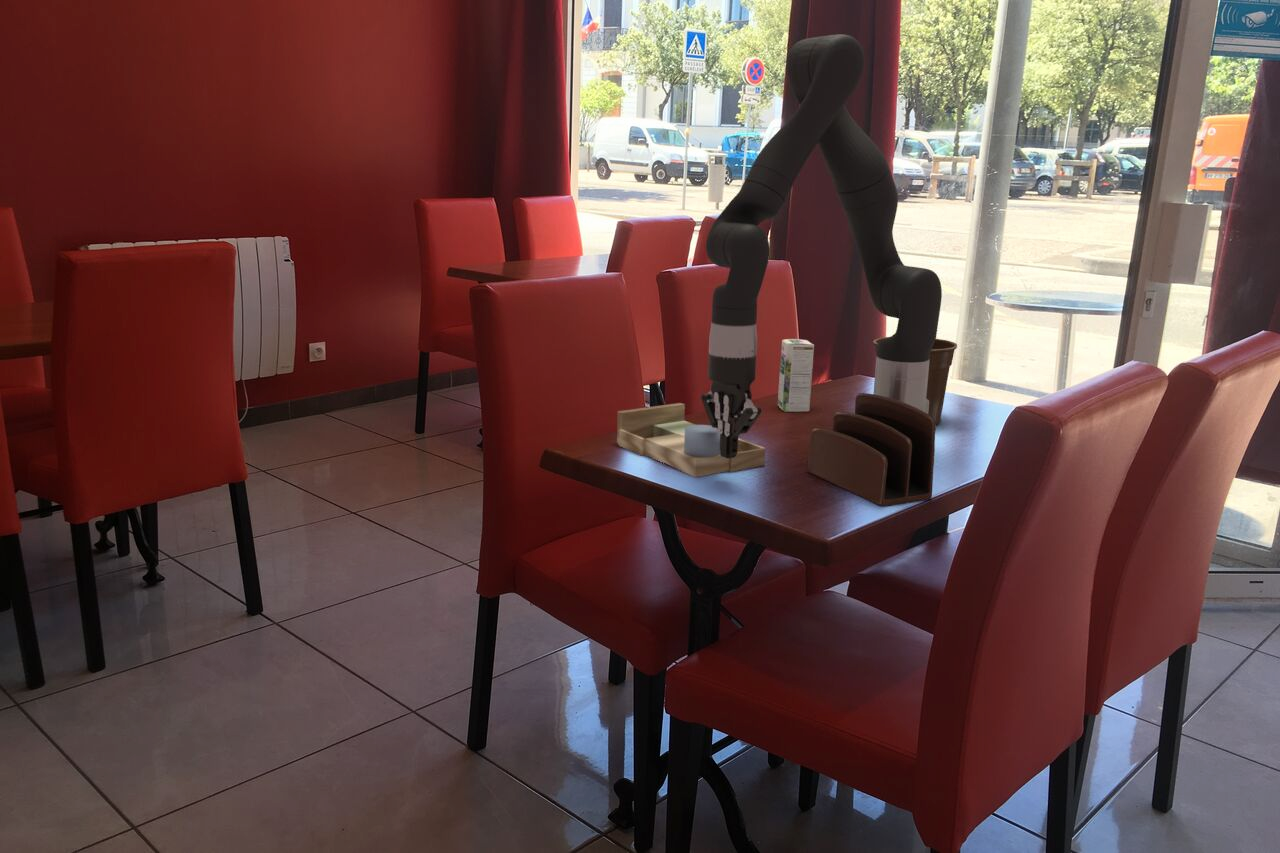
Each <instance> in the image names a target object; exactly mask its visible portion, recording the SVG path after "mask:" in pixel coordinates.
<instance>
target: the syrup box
mask: <svg viewBox="0 0 1280 853" xmlns="http://www.w3.org/2000/svg"><path fill="white" fill-rule="evenodd" d="M814 350H815V344H813V343H812V342H810V341H809V340H807V339H800V338H799V339H798V338H786V339H782V340H781V352H780V353H781V355H780V366H779V379H778V380H779V381H778V393H777V394H778V396H777V407H778V406H779V408H780V409H781V411H784V412H783V413H792V412H793V413H798V412H799V413H802V412H806V413H808V412H810V408H811V406H810V405H811V395H812V394H811V392H812V382H813V381H812V380H813V365H814V356H815V355H814V352H815V351H814Z"/></svg>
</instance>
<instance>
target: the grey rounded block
mask: <svg viewBox="0 0 1280 853" xmlns="http://www.w3.org/2000/svg"><path fill="white" fill-rule="evenodd" d="M684 453H685V454H687V455H690V456H694V457H714V456H717V455H719V454H720V434H719V432H718V429H717V428H713V427H712V425H711V424H710V425H708V424H695V425H691V426H687V427H686V428H685V438H684Z"/></svg>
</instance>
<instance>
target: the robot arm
mask: <svg viewBox="0 0 1280 853" xmlns="http://www.w3.org/2000/svg"><path fill="white" fill-rule="evenodd" d="M865 58H866V57H865V52H864V49H863V47H862V45H861V44H860V42H859V41H858V39H857V38H855V37H854V36H851V35H849V34H838V33H837V34H830V35H824V36H823V35H821V36H814V37H810V38H809V37H808V38H803V39H801V40H799V41H797V42H796V43H794V45H793V46H792V47H791V49H790V50H789V52H788V55H787V59H786V73H787V78H788V83H789V86H790V88H791V90H792V93H793V94H794V96H795V100H796V101H797V103H798V105H799V106H798V108H797V109H796V110H795V111H794V113H793V115H791V117H790V118H789V119H788V120H787V121H786V122H785V124H784V125H783V126H782V127H781V128H780V129H778V131H777V132H776V133H775V134H773V136H772V137H771V138H770V140H768V142H767V143H766V144H765V145H764V147H763V148H762V149H761V150H760V152H759V153H758V154H757V157H756V158H755V160H754V162H753V163H752V165H751V167H750V170H749V172H748V174H747V175H746V178H745V180H744V182H743V184H742V186H741V187H740V189H739V191H738V193H737V194H736V195H735V196H734V197H733V198H732V199H731V200H730V202H729V203H728V204H727V205H726V207H725V208H724V209H723V210H722V211H721V213H720V214H719V215H718V217H717V218H716V219H715V220H714V222H713V224H712V225H711V227H710V228H709V231H708V234H707V236H706V241H705V251H706V256H707V257H708V259H709V261H711V262H712V264H714V265H716V266H717V267H721V268H726V269H729V272H728V276H727V281H726V283H723V284H720V285H718V286H716V287H715V288H714V290H713V294H712V300H711V303H712V305H711V324H710V331H709V337H708V338H709V340H708V341H709V342H708V364H707V365H708V366H707V368H708V369H707V379H708V380H709V381H710V382H712V383H711V385H710V391H708V392H707V393H703V394H702V395H701V396H700V400H701V402H702V405H703V407H704V410H705V412H706V414H707V418H708V421H709V422H710V426H712V427H713V428H717V429H718V432H719V434H720V455H721V456H722V457H725V458H734V457H735V456H736V455H737V451H738V449H737V448H738V438H739V436H740V435H742V434H748V432H749V431H750V430H751V428H752V426H753V425H754V423H755V422H756V421H757V419H758V418H759V416H760V415H761V413H762V408H761V407H760V406H755V404H754V403H753V401H752V399H753V398H752V397H753V396H752V395H753V394H752V391H751V385H752V383H753V382H754V381H755V380H756V374H757V372H756V371H757V370H756V368H757V351H758V350H757V349H758V348H757V347H758V333H757V317H758V316H757V314H758V297H759V294H760V291H761V288H762V285H763V281H764V279H765V274H766V270H767V268H768V264H769V260H770V253H771V252H770V251H771V250H770V242H769V239H768V236H767V234H766V231H765V230H764V229H762V227H760V226H759V225H760V224H761V223H763V222H764V221H767V220H771V219H773V218H775V217H776V216H778V214H779V213H780V212H781V210H782V208H783V206H784V205H785V202H786V201H787V198H788V197H789V195H790V192H791V190H792V188H793V186H794V184H795V182H796V180H797V178H798V176H799V174H800V172H801V171H802V168H803V167H804V165H805V164H806V163H807V160H808V158H809V157H810V155H811V154H812V152H813V151H814V149H815V147H816V146H817V145H818V147H819V149H820V152H821V154H822V156H823V160H824V162H825V164H826V167H827V169H828V171H829V174H830V177H831V179H832V183H833V187H834V188H835V192H836V194H837V196H838V197H837V198H838V200H839V202H840V205H841V207H842V210H843V212H844V214H845V217H846V219H847V222H848V225H849V228H850V230H851V233H852V236H853V238H854V242H855V244H856V247H857V250H858V253H859V256H860V259H861V264H862V267H863V271H864V275H865V278H866V279H865V280H866V283H867V287H868V291H869V295H870V297H871V298H870V299H871V301H872V303H873V305H874V307H875V308H876V309H877V311H879V312H880V314H882V315H884V316H887V317H889V318H895V319H898V320H897V326H896V331H895V333H894V334H893V335H891V336H886V337H887V338H884V337H882V338H883V339H881V340H880V341H879V342H878V345H877V354H876V353H875V369H874V371H875V372H874V381H873V383H874V385H873V393H872V394H875V395H880V396H884V397H888V398H891V399H895V400H898V401H901V402H904V403H906V404H909V405H911V406H913V407H915V408H918V409H920V410H922V411H923V412H925V413H927V414H928V411H929V400H928V399H926V394H927V383H928V371H929V359H930V352H931V349H932V347H933V345H934V343H935V340H936V339H937V333H938V326H939V321H940V320H939V319H940V312H941V308H942V307H941V306H942V297H943V296H942V295H943V293H942V283H941V279H940V278H939V276H938V274H937V273H936V272H935V271H934V270H931V269H929V268H924V267H919V266H918V267H917V266H909V265H905V264H904V263H903V262H902V260H901V257H900V255H899V253H898V250H897V248H896V244H895V240H894V235H893V233H894V232H893V231H894V230H893V229H894V225H895V220H896V215H897V210H898V203H899V197H898V196H899V195H898V190H897V186H896V184H895V181H894V177H893V175H892V172H891V168H890V165H889V164H888V161H887V159H886V157H885V155H884V154H883V153H882V151H881V150H880V149H879V147H878V146H877V145H876V143H875V142H874V141H873V140H872V139H871V138H870V137H869V136H868V135H867V133H865V131H864V130H863V129H862V128H861V127H860V126H859V124H857V123H856V121H855V120H854V119H853V117H852V116H851V115H850V112H849V111H848V109H847V107H846V103H847V102H848V100H850V98H851V97H852V96H853V94H854V92H855V90H856V89H857V88H858V86H859V84H860V82H861V80H862V78H863V75H864V72H865V67H866V66H865V65H866V59H865ZM876 355H877V356H876Z"/></svg>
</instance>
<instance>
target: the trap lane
mask: <svg viewBox="0 0 1280 853" xmlns="http://www.w3.org/2000/svg"><path fill="white" fill-rule="evenodd" d="M685 405H686V404H685V403H682V402H677V403H670V404H663V405H654V406H647V407H641V408H633V409H632V408H631V409H626V410H625V409H624V410H618V411H617V413H616V414H617V419H616V420H617V422H616V423H617V424H616V426H617V429H616V430H617V431H616V432H617V433H616V436H617V437H616V444H618V446H619V447H621V448H624V449H626V450H628V451H630V452H632V451H633V453H634V452H635V453H634V454H637V455H639V454H640V455H639V456H641V455H642V456H645V455H646V456H645V457H648V456H649V457H648V458H650V457H651V458H650V459H652V458H653V459H652V460H655V459H656V460H655V461H657V460H658V461H657V462H659V461H660V463H662V462H663V463H662V464H664V463H666V464H668V465H670V466H669V467H671V466H672V468H673V467H674V468H673V469H675V468H676V470H678V471H680V470H681V471H680V472H683V473H684V474H686V475H690V476H692V477H693V478H694V477H695V478H698V477H702V476H709V475H715V474H721V473H725V472H733V473H734V472H737V471H744V470H747V469H753V468H759V467H764V466H765V463H766V461H765V460H766V447H764V446H761V445H758V444H755V443H753V442H750V441H748V440H744V439H742V438H739V437H738V448H737V449H738V451H737V455H736V456H735V457H734V458H725V457H722V456H721V455H720V454H719V455H717V456H714V457H694V456H690V455H687V454H685V453H684V438H685V428H686V427H687V426H691V425H696V424H695V423H693V422H689V421H686V420H685V411H686V410H685V409H686V406H685ZM666 464H665V465H666ZM668 465H667V466H668Z"/></svg>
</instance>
